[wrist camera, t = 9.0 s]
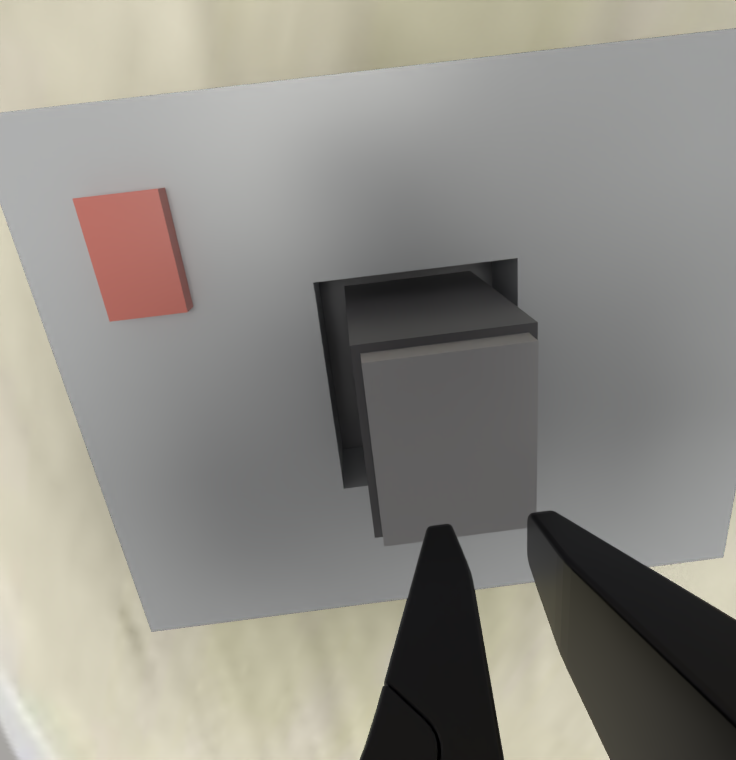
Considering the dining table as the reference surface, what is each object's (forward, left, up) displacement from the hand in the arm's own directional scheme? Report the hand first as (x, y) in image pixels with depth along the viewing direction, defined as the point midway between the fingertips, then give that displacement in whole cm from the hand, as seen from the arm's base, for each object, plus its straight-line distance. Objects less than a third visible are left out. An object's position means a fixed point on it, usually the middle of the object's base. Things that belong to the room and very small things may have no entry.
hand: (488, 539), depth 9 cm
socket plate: (0, 0, -10) cm, 10 cm away
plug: (0, 0, -10) cm, 10 cm away
